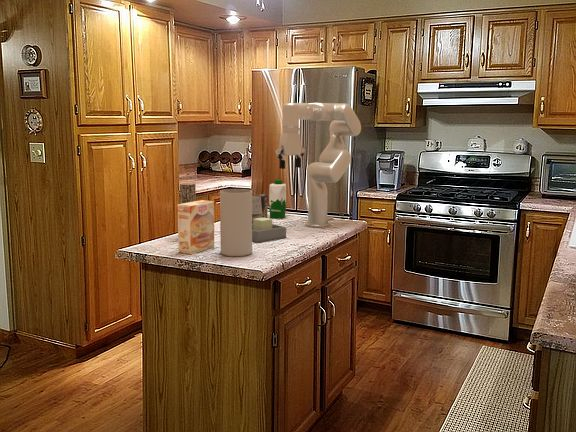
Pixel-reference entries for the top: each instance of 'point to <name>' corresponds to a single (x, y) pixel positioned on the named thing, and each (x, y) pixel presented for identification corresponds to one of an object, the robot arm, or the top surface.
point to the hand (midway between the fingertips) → (290, 168)
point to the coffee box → (259, 206)
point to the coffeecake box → (195, 226)
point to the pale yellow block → (262, 224)
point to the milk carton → (277, 200)
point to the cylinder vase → (236, 222)
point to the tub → (269, 234)
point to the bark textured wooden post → (187, 192)
